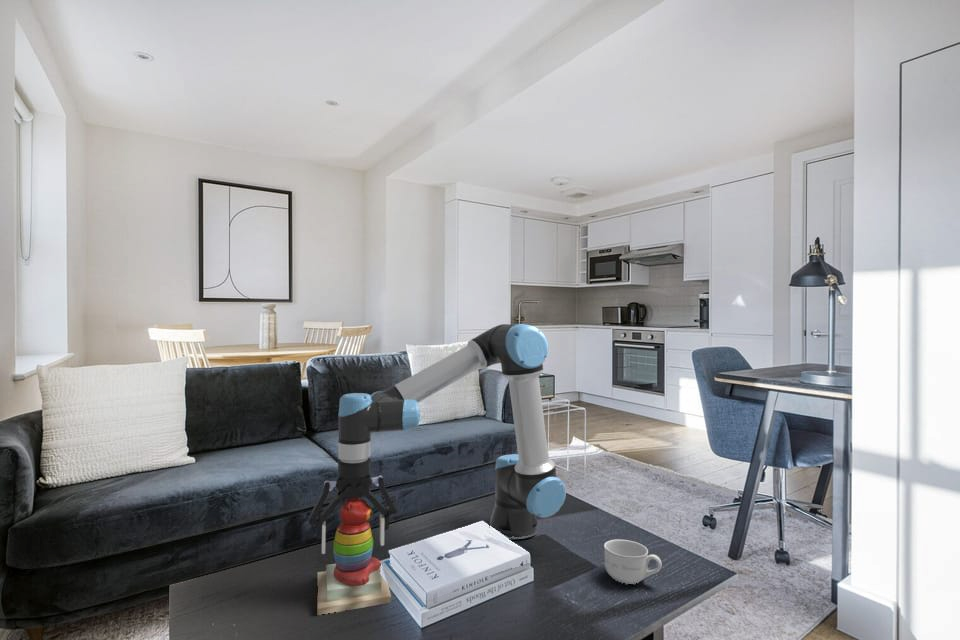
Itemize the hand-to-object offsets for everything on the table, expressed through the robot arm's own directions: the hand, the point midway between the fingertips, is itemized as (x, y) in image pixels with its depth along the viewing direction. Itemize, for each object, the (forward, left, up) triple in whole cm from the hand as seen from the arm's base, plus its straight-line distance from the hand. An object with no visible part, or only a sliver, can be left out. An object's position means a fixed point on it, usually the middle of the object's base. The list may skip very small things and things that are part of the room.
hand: (353, 547), depth 114 cm
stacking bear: (0, 0, -6) cm, 6 cm away
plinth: (0, 0, -10) cm, 10 cm away
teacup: (-67, +17, -10) cm, 70 cm away
